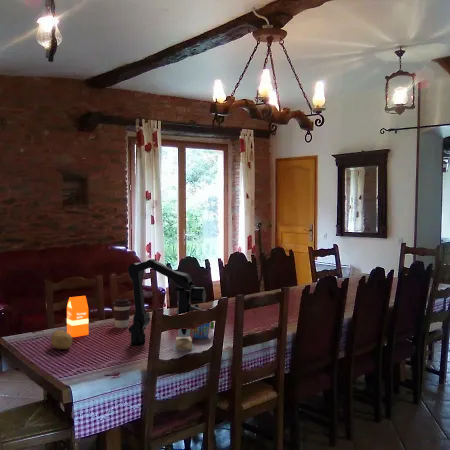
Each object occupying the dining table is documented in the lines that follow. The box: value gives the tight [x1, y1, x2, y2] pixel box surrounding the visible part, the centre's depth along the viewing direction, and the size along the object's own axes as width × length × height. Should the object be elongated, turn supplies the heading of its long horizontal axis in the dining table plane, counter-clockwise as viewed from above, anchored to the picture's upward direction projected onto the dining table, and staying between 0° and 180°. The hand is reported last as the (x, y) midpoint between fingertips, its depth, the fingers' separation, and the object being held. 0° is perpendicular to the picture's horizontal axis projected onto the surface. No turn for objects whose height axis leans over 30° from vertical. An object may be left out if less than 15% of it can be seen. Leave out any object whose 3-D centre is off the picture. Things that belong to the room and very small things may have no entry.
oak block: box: [175, 336, 193, 350], centre depth 241 cm, size 7×7×4 cm
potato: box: [50, 329, 73, 350], centre depth 238 cm, size 10×14×8 cm
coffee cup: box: [112, 298, 132, 329], centre depth 281 cm, size 10×10×15 cm
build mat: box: [172, 343, 196, 352], centre depth 241 cm, size 10×10×1 cm
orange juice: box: [66, 295, 89, 338], centre depth 263 cm, size 8×9×20 cm
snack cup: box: [190, 321, 215, 340], centre depth 260 cm, size 16×10×10 cm
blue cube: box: [177, 329, 191, 337], centre depth 241 cm, size 5×5×5 cm
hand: (183, 333), depth 241 cm, fingers closed on blue cube, 5 cm apart
